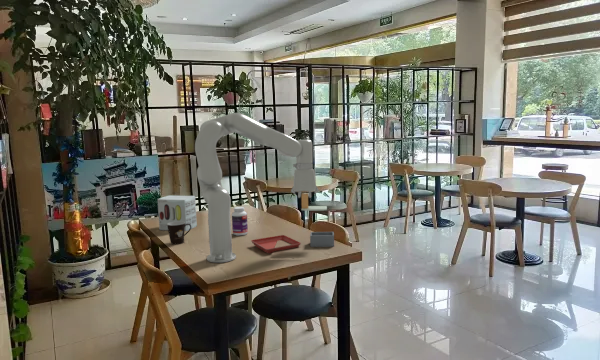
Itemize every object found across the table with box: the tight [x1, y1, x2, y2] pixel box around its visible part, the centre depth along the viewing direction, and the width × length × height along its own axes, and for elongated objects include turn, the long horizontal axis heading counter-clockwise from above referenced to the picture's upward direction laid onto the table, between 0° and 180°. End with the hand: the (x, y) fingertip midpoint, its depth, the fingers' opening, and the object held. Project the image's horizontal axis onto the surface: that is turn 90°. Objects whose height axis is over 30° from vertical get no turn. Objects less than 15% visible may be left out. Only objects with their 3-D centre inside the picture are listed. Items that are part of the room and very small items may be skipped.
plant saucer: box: [250, 234, 302, 255], centre depth 212 cm, size 18×18×3 cm
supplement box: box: [157, 194, 198, 232], centre depth 257 cm, size 17×13×18 cm
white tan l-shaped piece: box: [300, 192, 328, 212], centre depth 209 cm, size 8×12×8 cm, turn 86°
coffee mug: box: [167, 222, 192, 246], centre depth 226 cm, size 12×9×10 cm
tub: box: [309, 231, 335, 248], centre depth 212 cm, size 7×11×6 cm, turn 86°
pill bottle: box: [231, 206, 249, 236], centre depth 239 cm, size 8×8×14 cm
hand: (305, 205), depth 210 cm, fingers closed on white tan l-shaped piece, 3 cm apart
